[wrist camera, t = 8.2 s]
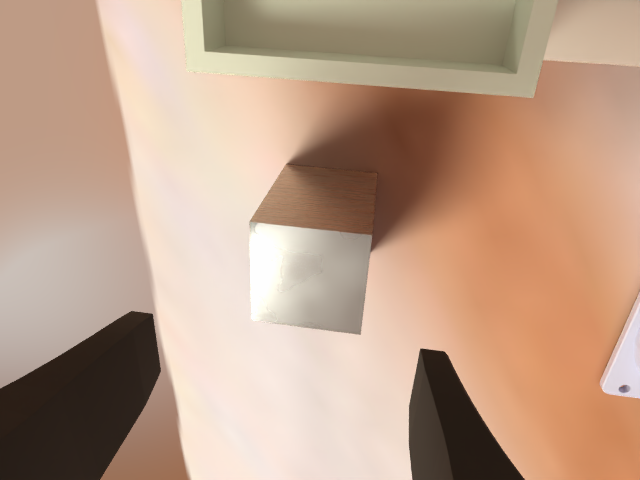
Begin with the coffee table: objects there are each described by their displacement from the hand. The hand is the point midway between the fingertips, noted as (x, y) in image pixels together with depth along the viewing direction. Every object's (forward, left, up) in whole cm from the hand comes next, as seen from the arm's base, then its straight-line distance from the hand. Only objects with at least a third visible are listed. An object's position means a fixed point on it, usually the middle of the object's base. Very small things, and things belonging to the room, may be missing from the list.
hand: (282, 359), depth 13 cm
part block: (0, 0, -10) cm, 10 cm away
